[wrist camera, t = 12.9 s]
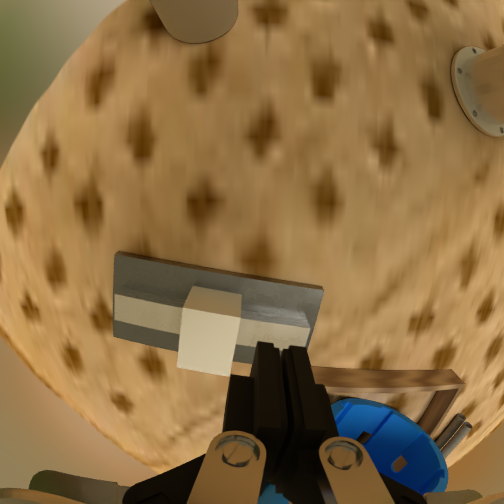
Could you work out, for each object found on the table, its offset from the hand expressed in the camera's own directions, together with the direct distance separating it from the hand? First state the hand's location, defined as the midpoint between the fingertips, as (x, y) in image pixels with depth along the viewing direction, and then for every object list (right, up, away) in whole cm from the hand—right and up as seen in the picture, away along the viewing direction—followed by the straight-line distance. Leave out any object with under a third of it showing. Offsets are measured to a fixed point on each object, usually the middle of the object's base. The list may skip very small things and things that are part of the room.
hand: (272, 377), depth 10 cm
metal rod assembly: (+32, -36, +32) cm, 58 cm away
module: (-5, -2, +21) cm, 22 cm away
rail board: (-5, -2, +22) cm, 23 cm away
